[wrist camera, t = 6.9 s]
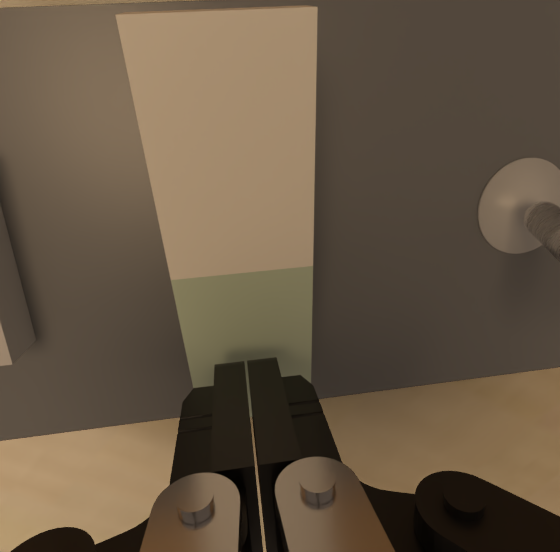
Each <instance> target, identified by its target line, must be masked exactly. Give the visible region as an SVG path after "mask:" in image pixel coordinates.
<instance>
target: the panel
mask: <svg viewBox="0 0 560 552" xmlns="http://www.w3.org/2000/svg"><path fill="white" fill-rule="evenodd" d="M303 5H307V6H315V7H318V13H317V70H316V128H315V185H314V242H313V299H312V357H311V384H312V385H313V386H314V388H315V391H316V394H317V396H318V399H322V398H330V397H337V396H345V395H352V394H360V393H368V392H375V391H383V390H390V389H398V388H406V387H413V386H421V385H428V384H436V383H443V382H451V381H459V380H466V379H474V378H481V377H489V376H497V375H504V374H512V373H519V372H527V371H535V370H542V369H550V368H557V367H560V262H559V261H558V260H557V259H556V258H555V257H554V256H553V255H552V254H551V253H550V252H549V251H548V250H547V249H546V248H545V247H544V246H543V245H542V244H541V243H540V242H539V241H538V240H537V239H536V238H535V237H534V236H533V235H532V234H531V233H530V232H529V231H528V230H527V228H526V227H525V225H524V221H523V217H524V214H525V212H526V210H527V209H528V208H529V207H530V206H531V205H533V204H534V203H537V202H541V201H548V202H552V203H554V204H556V205H557V206H558V207H560V0H201V1H173V2H146V3H118V4H91V5H63V6H36V7H8V8H0V441H3V440H11V439H18V438H26V437H33V436H41V435H49V434H56V433H64V432H71V431H79V430H87V429H94V428H102V427H109V426H117V425H125V424H132V423H140V422H147V421H155V420H163V419H170V418H178V417H180V415H181V409H182V402H183V401H184V400H185V398H186V397H187V396H188V395H189V393H190V392H191V391H192V389H193V384H192V379H191V374H190V370H189V365H188V360H187V355H186V351H185V346H184V341H183V336H182V331H181V327H180V322H179V317H178V312H177V307H176V303H175V298H174V293H173V288H172V284H171V279H170V274H169V269H168V264H167V260H166V255H165V250H164V245H163V240H162V236H161V231H160V226H159V221H158V217H157V212H156V207H155V202H154V197H153V193H152V188H151V183H150V178H149V173H148V169H147V164H146V159H145V154H144V150H143V145H142V140H141V135H140V130H139V126H138V121H137V116H136V111H135V106H134V102H133V97H132V92H131V87H130V83H129V78H128V73H127V68H126V63H125V59H124V54H123V49H122V44H121V39H120V35H119V30H118V25H117V20H116V16H115V15H116V14H121V13H125V12H147V11H173V10H199V9H225V8H251V7H277V6H303Z"/></svg>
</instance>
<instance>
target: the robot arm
mask: <svg viewBox="0 0 560 552" xmlns="http://www.w3.org/2000/svg"><path fill="white" fill-rule="evenodd" d="M247 366H248V376H249V387H250V397H251V408H252V418H253V428H254V438H255V447H256V457H257V466H258V476H259V485H260V494H261V504H262V513H263V523H264V532H265V541H266V551H267V552H560V517H559V516H557V515H555V514H553V513H551V512H549V511H547V510H545V509H543V508H541V507H539V506H537V505H535V504H533V503H530V502H528V501H526V500H524V499H522V498H520V497H518V496H516V495H514V494H512V493H510V492H508V491H506V490H504V489H501V488H499V487H497V486H495V485H493V484H491V483H489V482H487V481H485V480H483V479H481V478H478V477H476V476H474V475H470V474H467V473H463V472H457V471H442V472H437V473H433V474H431V475H429V476H427V477H425V478H424V479H423V480H422V481H421V482H420V483H419V485H418V486H417V489H416V492H415V494H409V493H401V492H392V491H386V490H380V489H377V488H373V487H371V486H368V485H366V484H364V483H362V482H361V481H359V479H358V478H357V476H356V475H355V473H354V472H353V471H352V470H351V469H350V468H349V467H348V466H346V465H345V464H343V463H342V461H341V458H340V455H339V453H338V450H337V447H336V445H335V442H334V439H333V437H332V434H331V431H330V429H329V426H328V423H327V421H326V418H325V415H324V414H323V410H322V407H321V404H320V402H319V399H318V396H317V394H316V391H315V388H314V386H313V385H312V384H311V383H310V382H309V381H307V380H306V379H305V378H304V377H303V376H301V375H295V376H287V377H281V373H280V369H279V365H278V361H277V357H273V358H264V359H256V360H247ZM11 552H263V547H262V536H261V526H260V516H259V506H258V495H257V485H256V475H255V465H254V454H253V444H252V434H251V424H250V414H249V403H248V393H247V383H246V373H245V363H244V361H240V362H231V363H223V364H215V365H214V386H206V387H198V388H193V389H192V391H191V392H190V393H189V395H188V396H187V397H186V398H185V400H184V401H183V402H182V409H181V415H180V421H179V428H178V434H177V441H176V447H175V453H174V460H173V466H172V473H171V479H170V485H169V486H168V487H167V488H166V489H165V490H164V491H162V493H161V494H160V495H159V496H158V498H157V499H156V501H155V503H154V505H153V507H152V510H151V514H150V517H149V518H148V519H146V520H145V521H144V522H142V523H141V524H139V525H138V526H136V527H134V528H132V529H130V530H128V531H126V532H124V533H122V534H119V535H117V536H115V537H112V538H110V539H108V540H105V541H103V542H101V543H98V544H96V545H95V544H94V541H93V539H92V537H91V536H90V535H89V534H88V533H87V532H85V531H83V530H81V529H78V528H74V527H62V528H56V529H52V530H48V531H45V532H43V533H40V534H38V535H36V536H34V537H32V538H30V539H28V540H26V541H25V542H23V543H22V544H20V545H19V546H17V547H16V548H15V549H13V550H12V551H11Z"/></svg>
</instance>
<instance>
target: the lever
mask: <svg viewBox="0 0 560 552" xmlns="http://www.w3.org/2000/svg"><path fill="white" fill-rule="evenodd" d="M523 221H524V225H525V227H526V228H527V230H528V231H529V232H530V233H531V234H532V235H533V236H534V237H535V238H536V239H537V240H538V241H539V242H540V243H541V244H542V245H543V246H544V247H545V248H546V249H547V250H548V251H549V252H550V253H551V254H552V255H553V256H554V257H555V258H556V259H557V260H558V261H559V262H560V207H558V206H557V205H556V204H554V203H552V202H548V201H541V202H537V203H534V204H533V205H531V206H530V207H529V208H528V209H527V210H526V212H525V214H524V217H523Z"/></svg>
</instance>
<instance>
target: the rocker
mask: <svg viewBox="0 0 560 552" xmlns="http://www.w3.org/2000/svg"><path fill="white" fill-rule="evenodd" d="M317 13H318V7H315V6H307V5H303V6H277V7H251V8H225V9H199V10H173V11H147V12H125V13H121V14H116V15H115V16H116V20H117V25H118V30H119V35H120V39H121V44H122V49H123V54H124V59H125V63H126V68H127V73H128V78H129V83H130V87H131V92H132V97H133V102H134V106H135V111H136V116H137V121H138V126H139V130H140V135H141V140H142V145H143V150H144V154H145V159H146V164H147V169H148V173H149V178H150V183H151V188H152V193H153V197H154V202H155V207H156V212H157V217H158V221H159V226H160V231H161V236H162V240H163V245H164V250H165V255H166V260H167V264H168V269H169V274H170V279H171V284H172V288H173V293H174V298H175V303H176V307H177V312H178V317H179V322H180V327H181V331H182V336H183V341H184V346H185V351H186V355H187V360H188V365H189V370H190V374H191V379H192V384H193V388H198V387H206V386H214V365H215V364H223V363H231V362H240V361H244V363H245V373H246V383H247V393H248V403H249V414H250V417H252V408H251V397H250V387H249V376H248V366H247V360H256V359H264V358H273V357H277V361H278V365H279V369H280V373H281V377H287V376H295V375H301V376H303V377H304V378H305V379H306V380H307V381H309V382H310V383H311V357H312V299H313V242H314V185H315V128H316V70H317Z"/></svg>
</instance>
